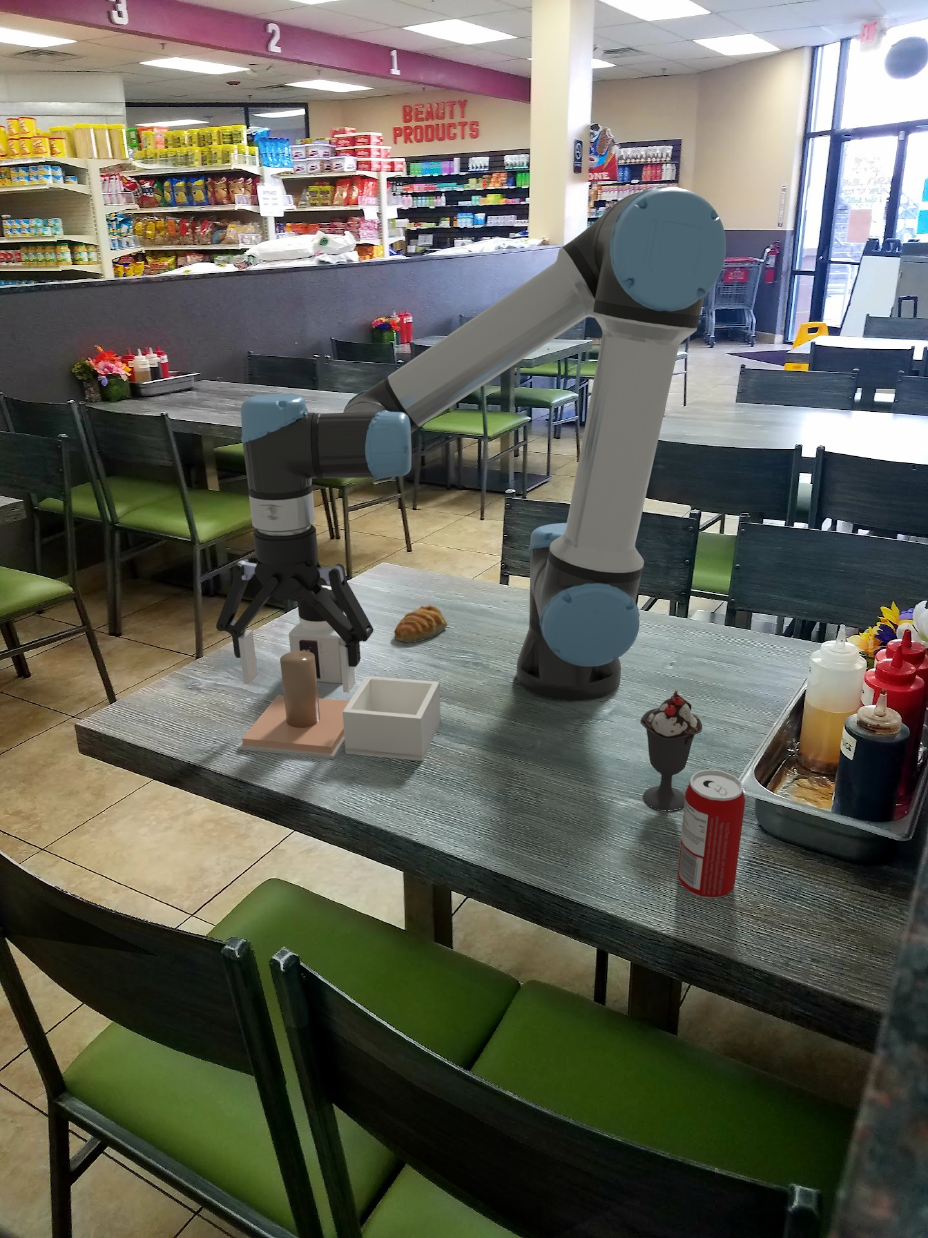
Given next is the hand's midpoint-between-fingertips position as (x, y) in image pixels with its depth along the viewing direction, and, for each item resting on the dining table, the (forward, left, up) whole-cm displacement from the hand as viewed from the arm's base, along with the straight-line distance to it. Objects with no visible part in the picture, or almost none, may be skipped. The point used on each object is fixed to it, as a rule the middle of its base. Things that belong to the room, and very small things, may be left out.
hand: (299, 683), depth 117 cm
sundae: (-47, +8, -7) cm, 48 cm away
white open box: (-13, 0, -7) cm, 14 cm away
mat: (0, 0, -7) cm, 7 cm away
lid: (0, 0, -6) cm, 6 cm away
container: (+3, -17, -7) cm, 19 cm away
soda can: (-51, +22, -7) cm, 56 cm away
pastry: (-8, -33, -7) cm, 35 cm away
